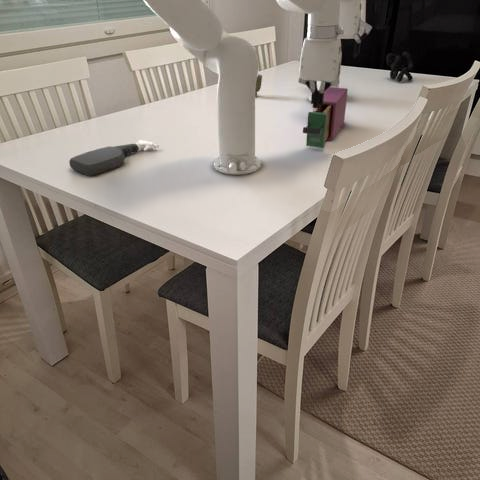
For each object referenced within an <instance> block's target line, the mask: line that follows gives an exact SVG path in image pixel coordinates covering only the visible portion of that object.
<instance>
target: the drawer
mask: <svg viewBox="0 0 480 480" xmlns="http://www.w3.org/2000/svg"><path fill="white" fill-rule="evenodd" d="M332 114H333V105H329V104H322V105H321V106H320V107H319V108H315V109H314V108H313V110H312V111H309V112H308V113H307V126H303V128H302V133H303V134H306V143H305V146H306V147H313V148H321V149H324V148H325V142H326V141H327V140H326V139H327V138H328V136H329V135H330V134H331V124H332Z"/></svg>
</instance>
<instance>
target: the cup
mask: <svg viewBox="0 0 480 480" xmlns="http://www.w3.org/2000/svg"><path fill="white" fill-rule="evenodd" d="M262 80H263V74H260V73H258V74H257V80H256V89H255V97H257V96H258V92H260V91H261V87H262V82H263V81H262Z"/></svg>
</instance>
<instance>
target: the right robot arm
mask: <svg viewBox="0 0 480 480" xmlns="http://www.w3.org/2000/svg"><path fill="white" fill-rule="evenodd" d="M366 5H367V0H341V1H340V13H339V24H338V25H339V27H340V28H344V33H343V34H340V35H338V36H337V38H340V40H343V39H344V40H350V39H351V40H352V39H354V40H355V42H354V44H353V53H352V57H353V58H357V57H358V55H360V52H361V51H360V49H361V43H362V42H363V40H365V39H366V38H367V37H368V35H369V34H370V32H371V30H372V29H373V26H372V25H370V23H369V24H368V23H367V22H366V16H367V15H366V13H367V12H366V10H367V6H366ZM342 54H343V52H342V50H341V58H342V57H343V55H342ZM340 76H341V75H340ZM340 76H339V78H340ZM320 85H321V81H317V89H318V90H319V89H320ZM339 85H340V84H339ZM339 85H338V86H333V88H340V86H339ZM311 97H312V94H310V95H309V96H308V101H309V102H311Z"/></svg>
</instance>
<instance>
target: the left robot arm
mask: <svg viewBox="0 0 480 480" xmlns="http://www.w3.org/2000/svg"><path fill="white" fill-rule="evenodd" d="M275 1H276V3H277V5H278V6H279V7H280V8H281V9H283V10H286V11H289V12H294V13H301V14H307V31H306V37H304V39H303V44H302V46H301V47H302V48H301V53H300V61H299V72H298V76H299V77H298V83H299V84H301V85H303V86H304V85H305V86H306V87H307V88H308V89H309V91H310V93H311V95H312V97H311V101H310V104H311V105H312V108H313V109H314V108H319V107H320V106H321V105H322V104H323V100H324V91H325V90H327V89H328V88H329V87H333V86H338V85H340V77H339V76H341V71H342V70H341V69H342V68H341V67H342V57H341V51H342V41H341V40H342V39H340V38H337V36H338V35H340V34H343V33H344V28H340V27H339V25H338V24H339V13H340V1H341V0H275ZM143 2H144V3H145V5H146V6H147V7H148V8H149V9H150V10H151V11H152V12H153V13H154V14H155V16H157V17H158V18H159V19H160V20H161V21H163V23H164V24H166V25H167V26H168V27H169V30H170V32H171V35H172V37H173V39H174V40H175V41H176V42H177V43H178V44H179V45H180V46H181V47H182V48H183V49H185V50H186V51H187V52H188V53H190V55H192V57H194V58H195V59H197V60H198V61H199V62H200V63H201V64H202V65H203V66H205V67H206V68H207V69H209V70H210V71H211V72H213V73H214V74H217V75H218V82H217V89H216V110H217V111H216V112H217V133H218V135H217V136H218V137H217V138H218V157H216V158H215V159H214V160H213V167H214V169H215V170H216V171H217V172H219V173H222V174H226V175H233V176H234V175H238V176H239V175H247V174H252V173H254V172H256V171H258V170H259V169H260V168H261V166H262V161H261V159H260V158H259V157H258V156H256V96H255V89H256V80H257V76H258V74H259V73H258V72H259V62H260V61H259V56H258V53H257V50H256V49H255V47H254V46H253V45H252V44H251V43H250V42H249V41H248V40H246V39H244V38H241V37H238V36H235V35H231V34H229V33H228V32H226V31H225V30H224V28H223V25H222V21H221V20H220V17H219V16H218V14H216V12H215V11H214V10H213V9H212V8H210V7H209V5H207V4H206V3H205V2H204V1H202V0H143ZM317 81H321V85H320V89H319V90H318V89H317Z"/></svg>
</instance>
